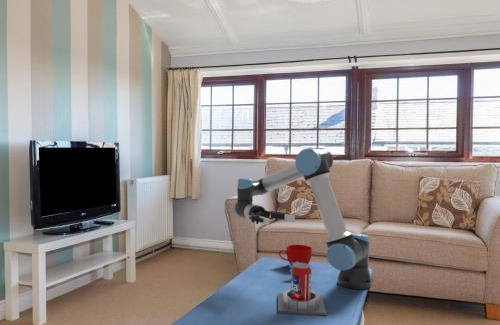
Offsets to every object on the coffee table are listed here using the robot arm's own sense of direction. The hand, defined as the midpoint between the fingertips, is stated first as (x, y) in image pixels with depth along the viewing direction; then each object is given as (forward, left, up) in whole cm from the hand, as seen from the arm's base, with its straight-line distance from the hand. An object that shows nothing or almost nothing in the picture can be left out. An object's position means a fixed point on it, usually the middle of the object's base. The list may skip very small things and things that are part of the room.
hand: (281, 220), depth 181 cm
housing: (-8, +17, -30) cm, 36 cm away
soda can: (-8, +18, -29) cm, 35 cm away
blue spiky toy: (-10, -14, -30) cm, 35 cm away
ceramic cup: (-8, -33, -30) cm, 45 cm away
